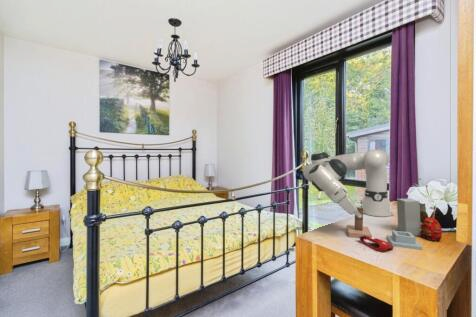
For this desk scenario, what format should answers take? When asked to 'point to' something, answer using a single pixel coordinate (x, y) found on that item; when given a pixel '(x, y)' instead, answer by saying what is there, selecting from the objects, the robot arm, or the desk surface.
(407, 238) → the grey square socket base
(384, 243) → the tracker holder
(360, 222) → the post
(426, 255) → the desk surface
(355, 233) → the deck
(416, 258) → the desk surface
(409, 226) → the skincare box
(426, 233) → the red clay folk toy
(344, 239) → the desk surface
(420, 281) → the desk surface
